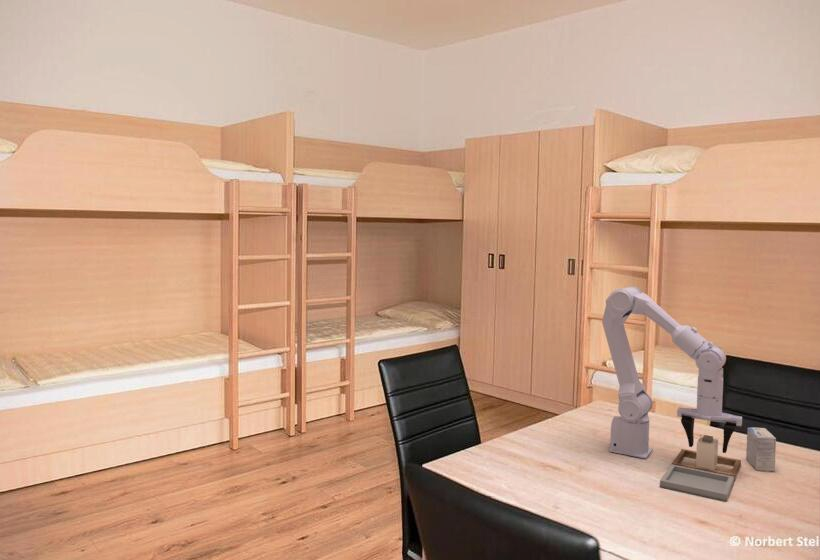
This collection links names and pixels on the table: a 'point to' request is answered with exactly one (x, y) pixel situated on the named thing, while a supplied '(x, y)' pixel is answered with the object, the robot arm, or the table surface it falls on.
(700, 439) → the plug block
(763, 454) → the medicine box
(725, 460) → the frame
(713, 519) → the table surface
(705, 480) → the lower tray
